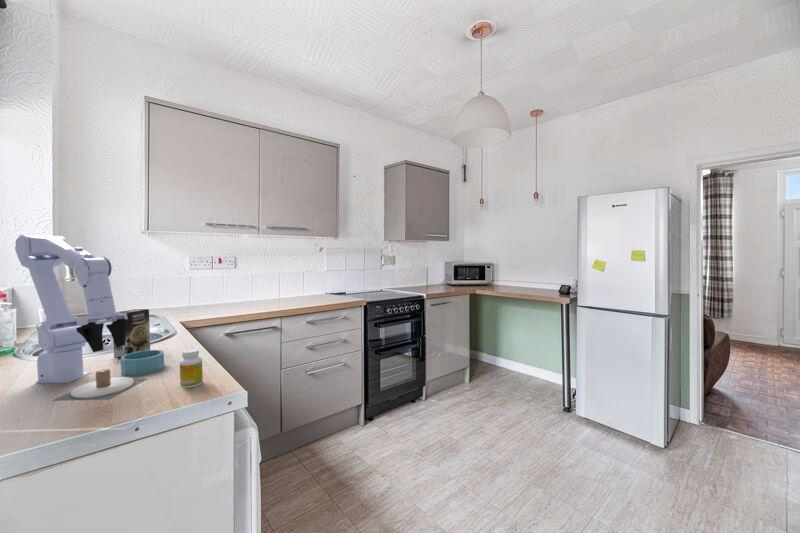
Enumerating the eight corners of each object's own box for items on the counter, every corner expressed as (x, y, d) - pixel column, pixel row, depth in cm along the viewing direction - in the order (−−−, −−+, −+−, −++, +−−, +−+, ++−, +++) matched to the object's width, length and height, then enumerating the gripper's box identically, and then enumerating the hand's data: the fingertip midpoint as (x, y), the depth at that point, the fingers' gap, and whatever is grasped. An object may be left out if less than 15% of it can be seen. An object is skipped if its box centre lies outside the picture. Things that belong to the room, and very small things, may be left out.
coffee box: (128, 358, 122) (126, 313, 121) (113, 357, 123) (111, 312, 123) (151, 351, 131) (149, 308, 130) (137, 350, 132) (135, 308, 132)
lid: (56, 399, 88) (55, 380, 87) (98, 380, 101) (98, 363, 100) (109, 398, 88) (108, 379, 88) (144, 379, 101) (144, 362, 101)
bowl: (112, 376, 104) (111, 360, 104) (138, 365, 115) (137, 350, 115) (149, 376, 105) (148, 359, 104) (171, 364, 115) (171, 349, 115)
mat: (52, 401, 87) (52, 400, 87) (98, 380, 101) (98, 379, 101) (109, 400, 88) (109, 398, 88) (147, 379, 102) (147, 378, 102)
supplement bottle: (198, 387, 96) (197, 352, 95) (176, 389, 95) (175, 354, 94) (205, 380, 101) (204, 347, 100) (185, 381, 100) (184, 348, 99)
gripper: (91, 297, 89) (102, 349, 88) (133, 295, 103) (143, 340, 103) (63, 304, 89) (74, 356, 88) (109, 301, 103) (119, 346, 102)
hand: (109, 348), depth 95 cm, fingers open, 7 cm apart
